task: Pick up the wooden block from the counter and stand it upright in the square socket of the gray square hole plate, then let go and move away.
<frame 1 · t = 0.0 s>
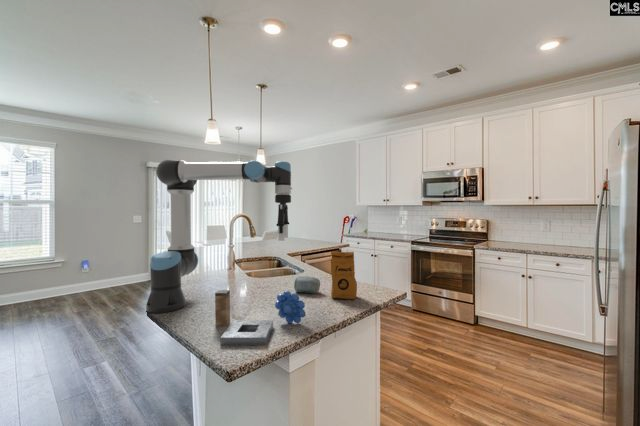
hand: (283, 239, 139), 28 cm above the countertop, fingers open, 13 cm apart
spool: (307, 292, 148), on the countertop
coffee package: (344, 298, 138), on the countertop
wooden block: (222, 324, 107), on the countertop
gray square hole plate: (248, 335, 97), on the countertop
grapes: (289, 324, 106), on the countertop
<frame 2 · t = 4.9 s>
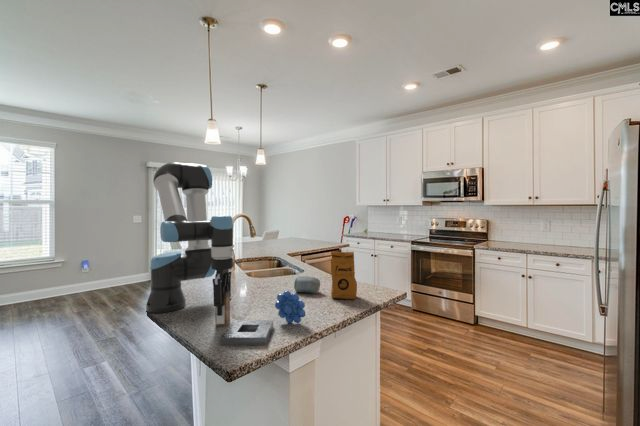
hand: (222, 321, 107), 1 cm above the countertop, fingers closed on wooden block, 4 cm apart
wooden block: (222, 324, 107), on the countertop, touching gripper
everything else where it was.
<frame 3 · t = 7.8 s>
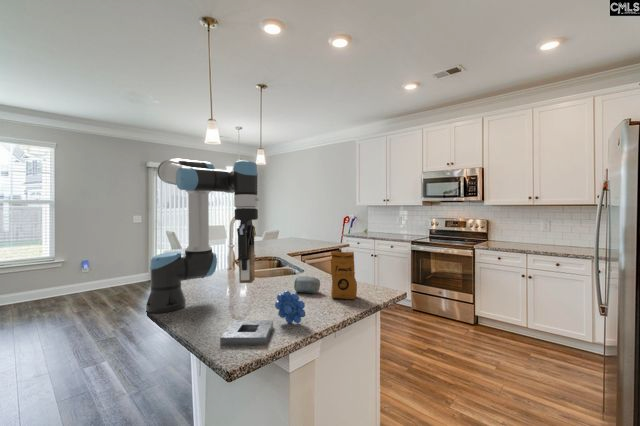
hand: (247, 278, 97), 19 cm above the countertop, fingers closed on wooden block, 4 cm apart
wooden block: (247, 281, 97), point 18 cm above the countertop, touching gripper
everything else where it was.
when the fingers open (3 cm above the countertop, at t = 10.8 s): wooden block drops 2 cm, resting in gray square hole plate.
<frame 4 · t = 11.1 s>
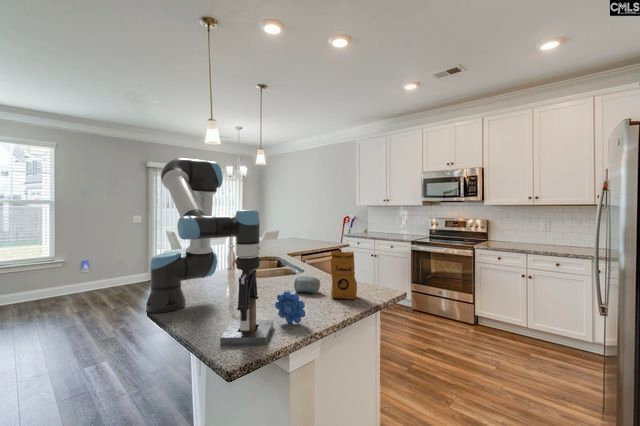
hand: (248, 324, 97), 4 cm above the countertop, fingers open, 9 cm apart
wooden block: (248, 335, 97), resting in gray square hole plate
everything else where it was.
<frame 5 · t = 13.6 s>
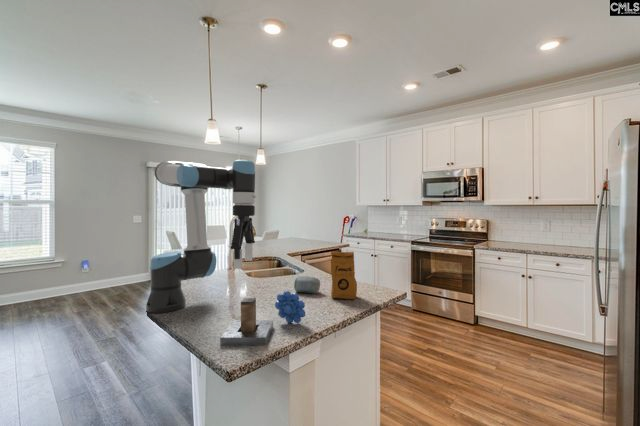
hand: (243, 264, 103), 23 cm above the countertop, fingers open, 13 cm apart
nothing on the countertop moved.
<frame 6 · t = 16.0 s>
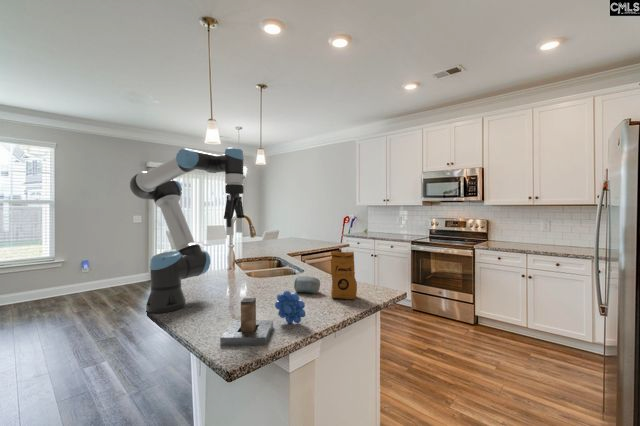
hand: (234, 233, 125), 32 cm above the countertop, fingers open, 13 cm apart
nothing on the countertop moved.
at the end: wooden block 0.0 cm off-centre on the gray square hole plate, point 0.0 cm above the gray square hole plate's base; wooden block tilted 0°; the gripper is holding nothing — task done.
